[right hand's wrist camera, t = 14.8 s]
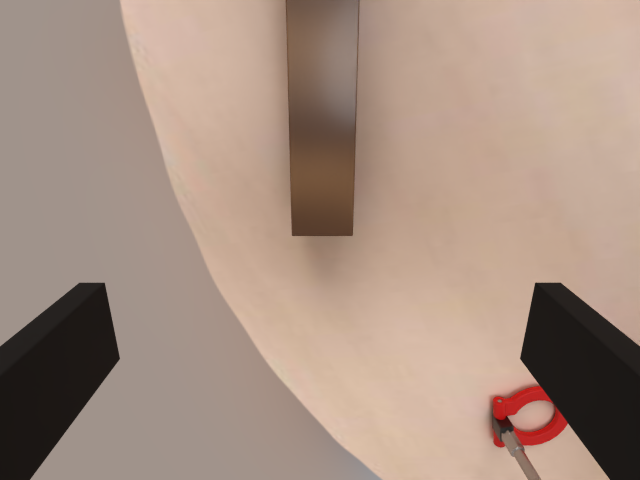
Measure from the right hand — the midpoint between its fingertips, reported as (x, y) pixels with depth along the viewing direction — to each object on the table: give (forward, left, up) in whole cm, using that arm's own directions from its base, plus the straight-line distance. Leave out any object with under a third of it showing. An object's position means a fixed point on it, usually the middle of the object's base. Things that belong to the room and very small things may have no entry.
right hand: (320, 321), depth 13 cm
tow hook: (-30, -25, -29) cm, 49 cm away
